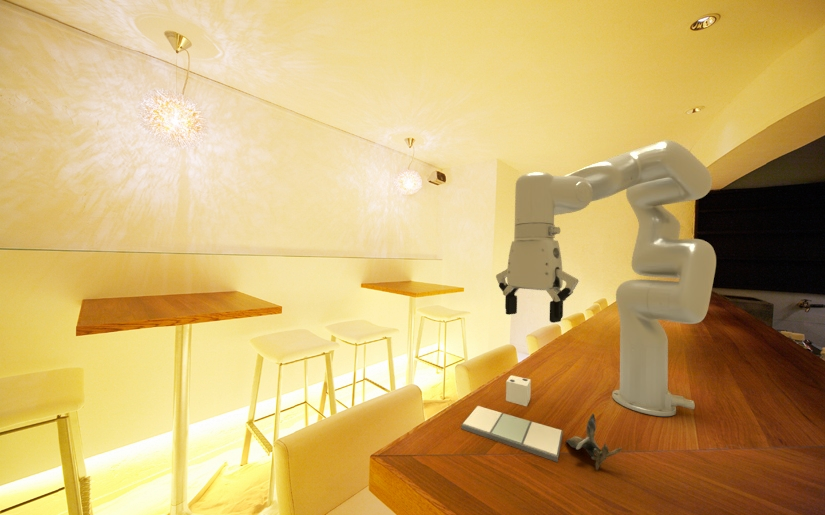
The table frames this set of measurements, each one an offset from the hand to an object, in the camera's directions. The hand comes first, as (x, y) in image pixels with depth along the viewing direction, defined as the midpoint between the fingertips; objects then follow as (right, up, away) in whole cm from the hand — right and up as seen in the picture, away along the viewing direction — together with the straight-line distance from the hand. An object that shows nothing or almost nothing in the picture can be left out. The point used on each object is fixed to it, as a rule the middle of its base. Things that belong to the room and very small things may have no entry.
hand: (531, 317), depth 59 cm
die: (+3, -24, +15) cm, 29 cm away
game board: (-4, -24, 0) cm, 24 cm away
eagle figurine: (+8, -24, -7) cm, 26 cm away
